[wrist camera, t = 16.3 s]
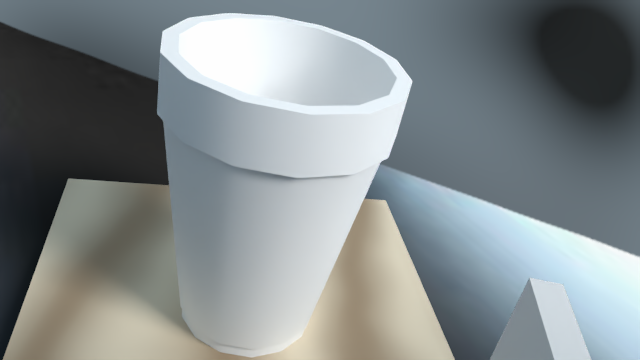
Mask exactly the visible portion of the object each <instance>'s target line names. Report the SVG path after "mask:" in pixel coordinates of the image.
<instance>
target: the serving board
mask: <svg viewBox="0 0 640 360" xmlns="http://www.w3.org/2000/svg"><path fill="white" fill-rule="evenodd" d="M3 360H455V359H454V357H453V355H452V352H451V350H450V348H449V345H448V343H447V341H446V338H445V336H444V334H443V332H442V329H441V327H440V325H439V322H438V320H437V318H436V315H435V313H434V311H433V309H432V306H431V304H430V302H429V299H428V297H427V295H426V292H425V290H424V288H423V286H422V283H421V281H420V279H419V276H418V274H417V272H416V269H415V267H414V265H413V263H412V260H411V258H410V256H409V253H408V251H407V249H406V246H405V244H404V242H403V240H402V237H401V235H400V233H399V230H398V228H397V226H396V223H395V221H394V219H393V217H392V214H391V212H390V210H389V207H388V205H387V203H386V200H372V199H364V200H363V202H362V204H361V207H360V209H359V211H358V213H357V216H356V218H355V220H354V222H353V224H352V227H351V229H350V231H349V233H348V236H347V238H346V240H345V242H344V244H343V247H342V249H341V251H340V253H339V255H338V258H337V260H336V262H335V264H334V267H333V269H332V271H331V273H330V275H329V278H328V280H327V282H326V284H325V287H324V289H323V291H322V293H321V295H320V298H319V300H318V302H317V304H316V307H315V309H314V311H313V313H312V315H311V318H310V320H309V322H308V324H307V327H306V328H305V329H304V332H303V334H302V337H300V338H299V339H298V340H296V341H295V342H293V343H292V344H291V345H289V346H288V347H287V348H285V349H284V350H283V351H281V352H277V353H272V354H267V355H262V356H257V357H252V358H251V357H245V356H239V355H233V354H227V353H221V352H219V351H217V350H216V349H214V348H212V347H211V346H209V345H207V344H206V343H204V342H202V341H200V340H199V339H197V338H195V336H194V335H193V333H192V332H191V330H190V329H189V327H188V325H187V324H186V322H185V321H184V319H183V318H182V308H181V307H180V297H179V286H178V275H177V264H176V253H175V242H174V231H173V221H172V210H171V199H170V188H169V185H154V184H140V183H125V182H111V181H96V180H82V179H68V181H67V184H66V187H65V189H64V192H63V195H62V198H61V200H60V203H59V206H58V209H57V211H56V214H55V217H54V220H53V222H52V225H51V228H50V231H49V233H48V236H47V239H46V242H45V245H44V247H43V250H42V253H41V256H40V258H39V261H38V264H37V267H36V269H35V272H34V275H33V278H32V280H31V283H30V286H29V289H28V291H27V294H26V297H25V300H24V303H23V305H22V308H21V311H20V314H19V316H18V319H17V322H16V325H15V327H14V330H13V333H12V336H11V338H10V341H9V344H8V347H7V349H6V352H5V355H4V358H3Z"/></svg>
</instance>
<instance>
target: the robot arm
mask: <svg viewBox="0 0 640 360" xmlns="http://www.w3.org/2000/svg"><path fill="white" fill-rule="evenodd" d="M490 360H591V357H590V355H589V352H588V349H587V347H586V344H585V341H584V339H583V336H582V333H581V331H580V328H579V325H578V323H577V320H576V317H575V315H574V312H573V309H572V307H571V304H570V301H569V299H568V296H567V293H566V290H565V288H564V285H563V284H558V283H553V282H548V281H543V280H538V279H533V278H529V280H528V282H527V284H526V286H525V288H524V290H523V292H522V294H521V296H520V298H519V300H518V302H517V304H516V307H515V309H514V311H513V313H512V315H511V317H510V319H509V321H508V323H507V325H506V327H505V329H504V331H503V333H502V335H501V338H500V340H499V342H498V344H497V346H496V348H495V350H494V352H493V354H492V356H491V358H490Z"/></svg>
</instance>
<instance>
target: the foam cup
mask: <svg viewBox="0 0 640 360" xmlns="http://www.w3.org/2000/svg"><path fill="white" fill-rule="evenodd" d="M411 85H412V80H411V79H410V77H409V76H408V75H407V73H406V72H405V71H404V69H403V68H402V67H401V65H400V64H399V63H398V61H397V60H395V59H394V58H392V57H391V56H389V55H387V54H386V53H384V52H382V51H381V50H379V49H377V48H376V47H374V46H372V45H371V44H369V43H367V42H365V41H364V40H361V39H358V38H355V37H352V36H349V35H347V34H344V33H341V32H338V31H335V30H333V29H330V28H327V27H324V26H320V25H316V24H311V23H306V22H302V21H297V20H292V19H287V18H282V17H277V16H267V15H251V14H236V13H226V14H217V15H208V16H199V17H191V18H187V19H185V20H183V21H181V22H179V23H178V24H176V25H174V26H172V27H170V28H168V29H166V30H164V31H163V34H162V41H161V49H160V64H159V84H158V105H157V114H158V115H159V117H160V118H161V119H162V120H163V123H164V134H165V145H166V155H167V166H168V177H169V188H170V199H171V210H172V221H173V231H174V242H175V253H176V264H177V275H178V286H179V297H180V307H181V308H182V318H183V319H184V321H185V322H186V324H187V325H188V327H189V329H190V330H191V332H192V333H193V335H194V336H195V338H197V339H199V340H200V341H202V342H204V343H206V344H207V345H209V346H211V347H212V348H214V349H216V350H217V351H219V352H221V353H227V354H233V355H239V356H245V357H251V358H252V357H257V356H262V355H267V354H272V353H277V352H281V351H283V350H284V349H285V348H287V347H288V346H289V345H291V344H292V343H293V342H295V341H296V340H298V339H299V338H300V337H302V334H303V332H304V329H305V328H306V327H307V324H308V322H309V320H310V318H311V315H312V313H313V311H314V309H315V307H316V304H317V302H318V300H319V298H320V295H321V293H322V291H323V289H324V287H325V284H326V282H327V280H328V278H329V275H330V273H331V271H332V269H333V267H334V264H335V262H336V260H337V258H338V255H339V253H340V251H341V249H342V247H343V244H344V242H345V240H346V238H347V236H348V233H349V231H350V229H351V227H352V224H353V222H354V220H355V218H356V216H357V213H358V211H359V209H360V207H361V204H362V202H363V200H364V198H365V196H366V193H367V191H368V189H369V187H370V184H371V182H372V180H373V178H374V176H375V173H376V171H377V169H378V167H379V164H380V162H381V161H383V160H385V159H387V158H388V157H389V154H390V151H391V149H392V146H393V143H394V140H395V138H396V135H397V131H398V128H399V125H400V121H401V118H402V115H403V111H404V108H405V104H406V101H407V98H408V95H409V91H410V87H411Z"/></svg>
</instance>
